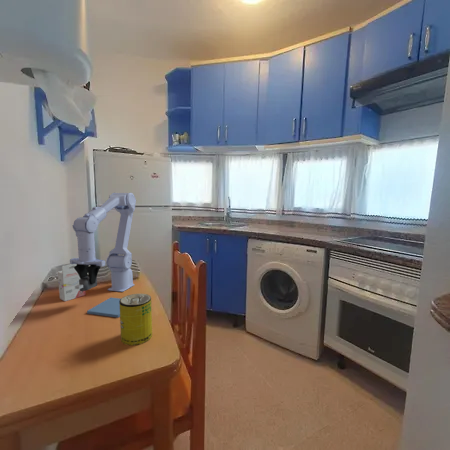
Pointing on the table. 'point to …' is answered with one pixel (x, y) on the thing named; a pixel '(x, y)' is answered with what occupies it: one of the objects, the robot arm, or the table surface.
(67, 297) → the ink cartridge box
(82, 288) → the dark grey rounded block
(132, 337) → the beverage can
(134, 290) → the table surface
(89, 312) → the blue-grey mat
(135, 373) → the table surface
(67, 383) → the table surface
